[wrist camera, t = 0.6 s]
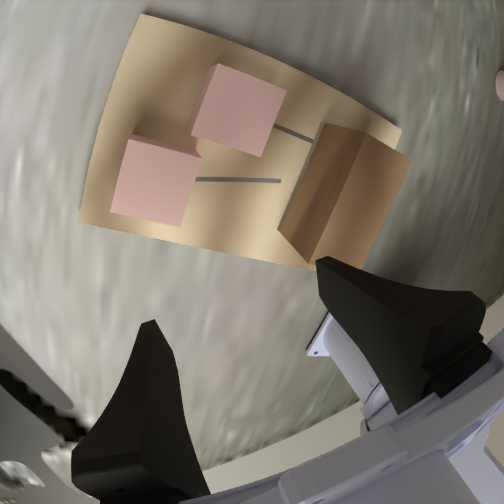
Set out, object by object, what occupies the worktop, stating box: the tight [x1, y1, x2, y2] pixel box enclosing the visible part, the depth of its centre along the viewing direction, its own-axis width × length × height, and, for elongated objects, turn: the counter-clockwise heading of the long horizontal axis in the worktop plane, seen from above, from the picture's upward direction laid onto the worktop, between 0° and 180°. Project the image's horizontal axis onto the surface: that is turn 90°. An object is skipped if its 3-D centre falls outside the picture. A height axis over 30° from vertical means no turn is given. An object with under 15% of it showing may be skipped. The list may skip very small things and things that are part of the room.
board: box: [78, 14, 402, 271], centre depth 20 cm, size 20×13×1 cm, turn 68°
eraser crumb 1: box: [110, 134, 203, 227], centre depth 17 cm, size 4×4×2 cm
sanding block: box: [277, 122, 411, 269], centre depth 20 cm, size 4×8×5 cm, turn 158°
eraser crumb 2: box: [186, 63, 287, 157], centre depth 16 cm, size 4×4×2 cm
